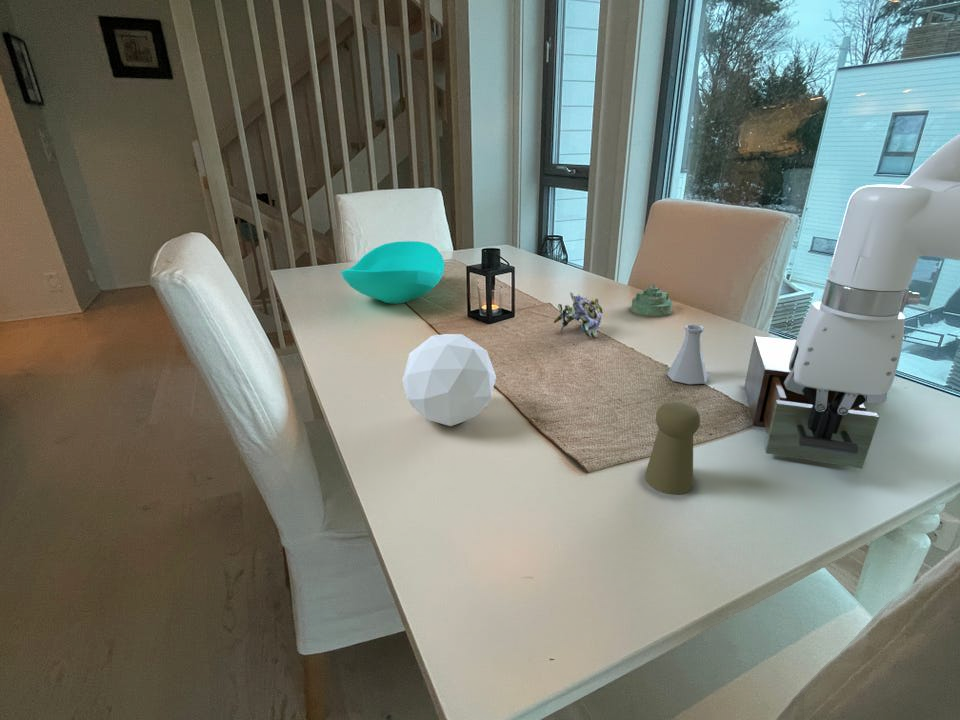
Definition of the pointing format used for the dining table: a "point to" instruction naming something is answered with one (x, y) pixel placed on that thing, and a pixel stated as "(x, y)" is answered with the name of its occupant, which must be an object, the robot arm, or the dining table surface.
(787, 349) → the cabinet
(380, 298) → the table top decor
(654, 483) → the olive pawn
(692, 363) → the flask
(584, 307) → the passion flower
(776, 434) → the drawer
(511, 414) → the dining table surface
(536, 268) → the dining table surface
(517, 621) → the dining table surface
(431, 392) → the geometric sphere
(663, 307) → the decorative artifact
